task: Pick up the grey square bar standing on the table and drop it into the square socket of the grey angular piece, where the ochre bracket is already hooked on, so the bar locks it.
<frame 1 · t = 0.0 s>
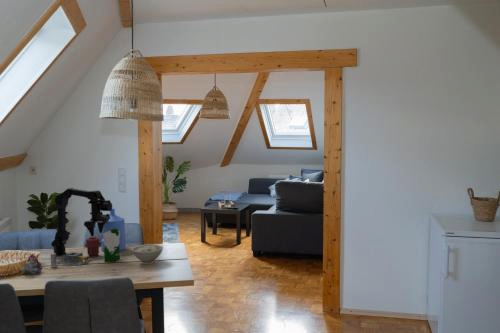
hand: (96, 234, 311), 15 cm above the table, tool pointing down, fingers open, 9 cm apart
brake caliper: (32, 273, 279), on the table
bowl: (147, 263, 299), on the table
grey angular piece: (73, 261, 302), on the table
water jug: (113, 249, 332), on the table
milk carton: (112, 260, 304), on the table
mechanical component: (93, 256, 315), on the table
grey square bar: (53, 266, 291), on the table
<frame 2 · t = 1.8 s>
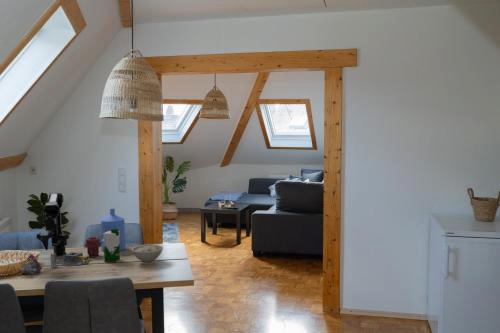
hand: (53, 250, 291), 10 cm above the table, tool pointing down, fingers open, 9 cm apart
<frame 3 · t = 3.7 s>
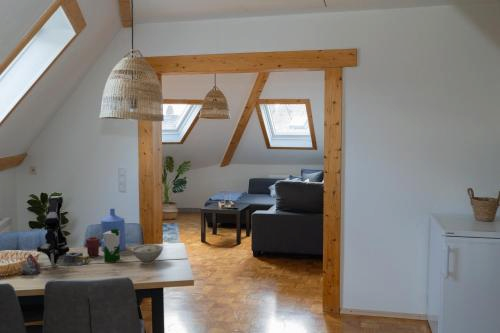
hand: (53, 263, 291), 2 cm above the table, tool pointing down, fingers closed on grey square bar, 2 cm apart
grey square bar: (53, 266, 291), on the table, touching gripper
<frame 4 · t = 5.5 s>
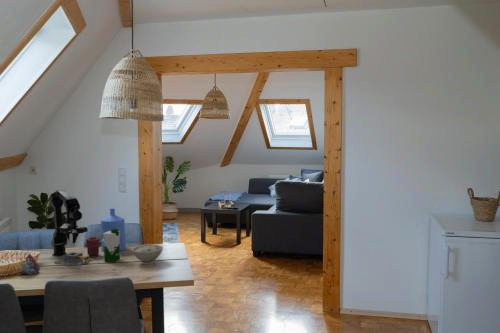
hand: (72, 243, 300), 12 cm above the table, tool pointing down, fingers closed on grey square bar, 2 cm apart
grey square bar: (72, 246, 301), point 10 cm above the table, touching gripper
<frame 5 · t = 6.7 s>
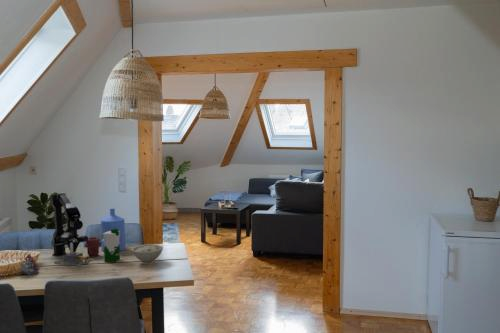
hand: (72, 252, 301), 6 cm above the table, tool pointing down, fingers closed on grey square bar, 2 cm apart
grey square bar: (72, 255, 301), point 4 cm above the table, touching gripper
when the fingers open (5 cm above the table, at t = 7.5 s): grey square bar drops 2 cm, resting on grey angular piece.
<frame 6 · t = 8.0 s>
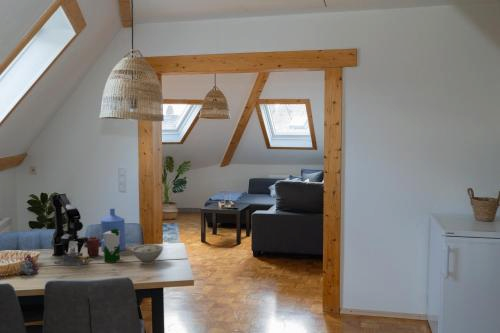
hand: (73, 253, 301), 5 cm above the table, tool pointing down, fingers open, 8 cm apart
grey square bar: (73, 260, 301), point 1 cm above the table, touching grey angular piece
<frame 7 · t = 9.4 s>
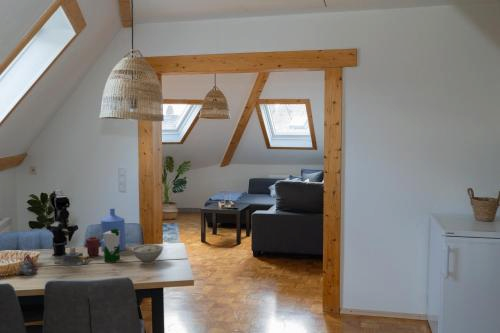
hand: (63, 241, 302), 13 cm above the table, tool pointing down, fingers open, 9 cm apart
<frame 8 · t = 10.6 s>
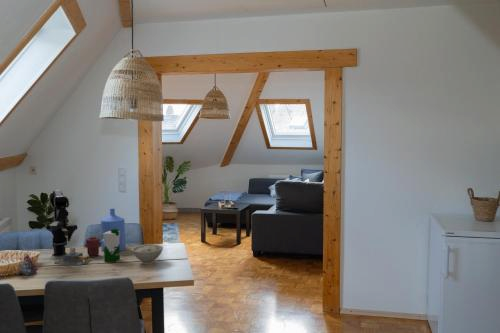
hand: (62, 240, 302), 13 cm above the table, tool pointing down, fingers open, 9 cm apart
at the end: grey square bar 0.2 cm off-centre on the grey angular piece, point 1.0 cm above the grey angular piece's base; grey square bar tilted 0°; the gripper is holding nothing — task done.
